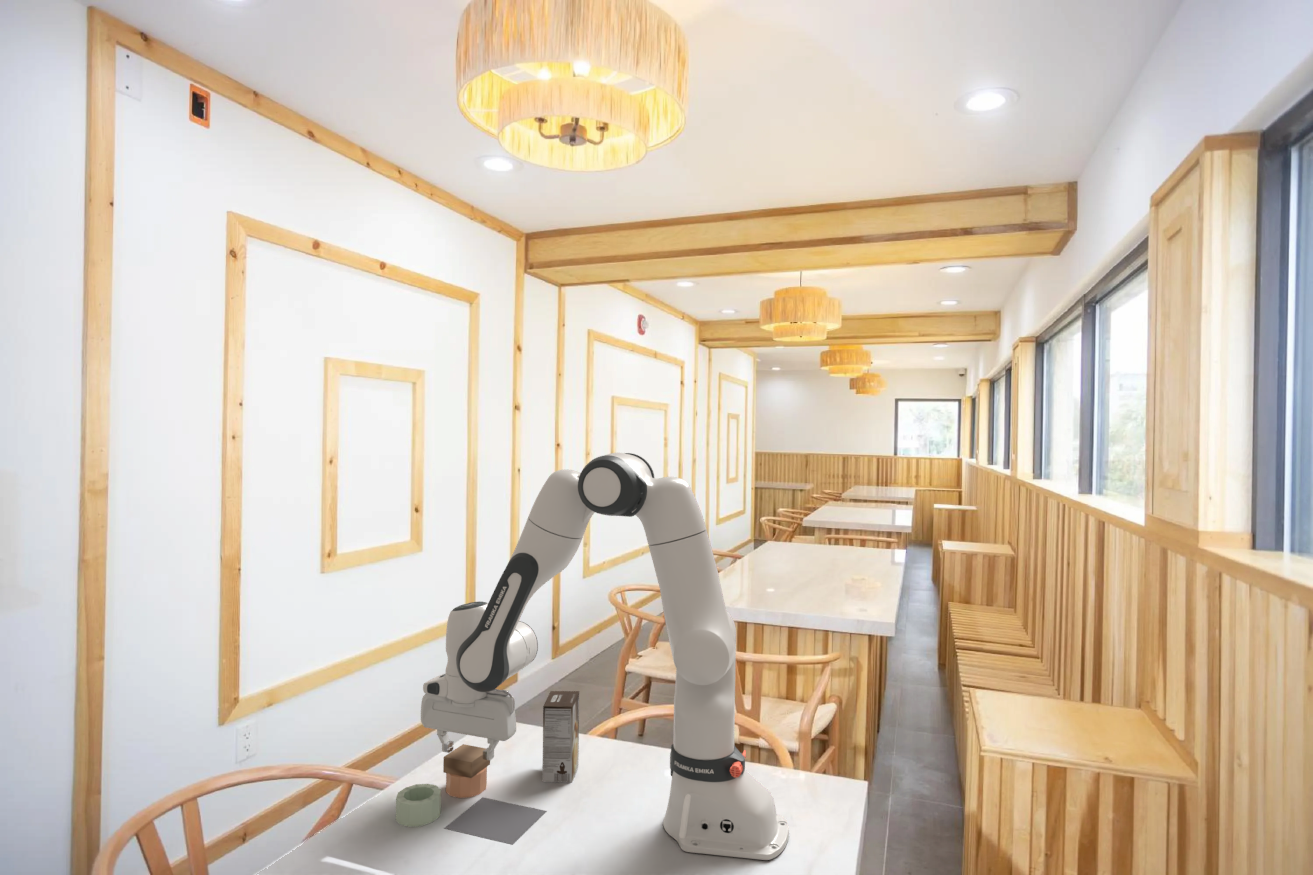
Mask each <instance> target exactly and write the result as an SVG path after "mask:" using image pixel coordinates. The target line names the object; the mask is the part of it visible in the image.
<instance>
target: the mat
mask: <svg viewBox="0 0 1313 875" xmlns="http://www.w3.org/2000/svg"><path fill="white" fill-rule="evenodd" d="M547 812H548V811H547V810H544V809H541V808H540V809H539V808H535V807H530V806H525V805H520V804H517V803H511V802H507V801H503V800H496V799H494V798H493V799H492V798H488V797H484V796H483V797H481V798H480V799H478V800H477V801H475V802H474V803H473V804H472V805H471V806H469V807H468V808H467V809H466V810H465V811H463V812H462V813H460V815H458V816H457V817H456V818H454V819H453V820H452V821H451V822H449V824H447V825H446V826H444V827H443V829H445V830H449V831H453V832H458V833H462V834H466V835H470V836H474V837H478V838H482V839H483V838H484V839H487V840H491V841H495V842H499V843H503V844H509V845H514V844H515V843H516V842H517V841H519V839H520V838H521V837H522V836H523V835H524V834H525V833H527V831H529V830H530V829H531V828H532V827H533V826H534V825H535V824H536V823H537V822H538V821H539V820H540V819H541V818H542V817H543V816H544V815H545V814H546V813H547Z"/></svg>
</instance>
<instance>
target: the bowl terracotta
mask: <svg viewBox="0 0 1313 875" xmlns="http://www.w3.org/2000/svg"><path fill="white" fill-rule="evenodd" d="M445 775H446V776H445V786H446V787H445V792H446V794H447V795H449V796H450V797H454V798H458V799H463V798H464V799H465V798H472V797H475V796H478V795H481V794H483V792H485V791H486V790H487V786H488V785H487V784H488V766H487V767H486V768H484V769H483V770H482V771H480V772H479V773H478V774H476V775H475V776H474V777H472V778H468V777H463V776H458V775H454V774H449V773H445Z"/></svg>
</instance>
